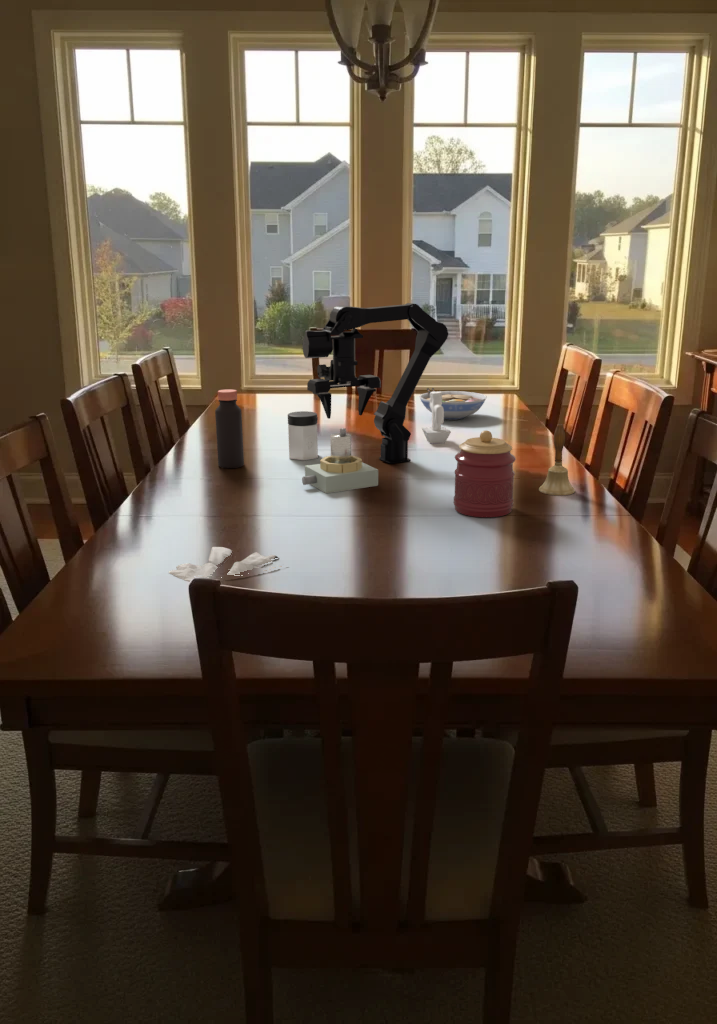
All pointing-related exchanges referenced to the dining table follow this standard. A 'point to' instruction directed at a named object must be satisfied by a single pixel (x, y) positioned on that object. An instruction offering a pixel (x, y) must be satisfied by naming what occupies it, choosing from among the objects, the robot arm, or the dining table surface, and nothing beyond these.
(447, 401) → the ramen bowl
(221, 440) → the bottle
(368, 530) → the dining table surface
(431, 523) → the dining table surface
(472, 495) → the canister
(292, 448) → the jar
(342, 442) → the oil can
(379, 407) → the robot arm
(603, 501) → the dining table surface
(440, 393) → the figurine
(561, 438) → the hand bell
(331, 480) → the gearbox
